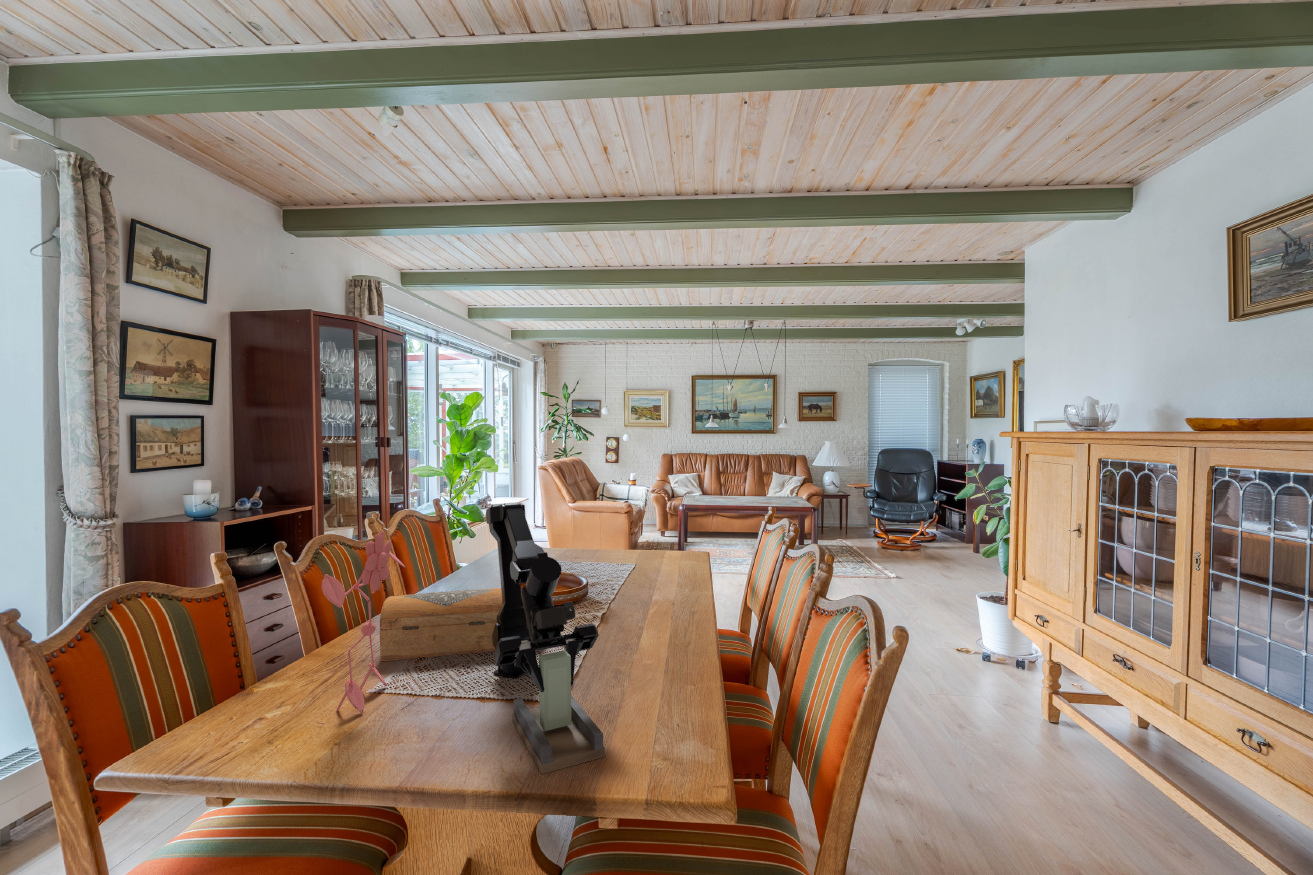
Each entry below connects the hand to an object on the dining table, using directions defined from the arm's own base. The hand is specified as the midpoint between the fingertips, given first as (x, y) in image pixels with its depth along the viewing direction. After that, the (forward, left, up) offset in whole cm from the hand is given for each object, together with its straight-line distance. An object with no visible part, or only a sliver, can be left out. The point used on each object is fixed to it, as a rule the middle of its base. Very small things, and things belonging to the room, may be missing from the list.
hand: (557, 688), depth 106 cm
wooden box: (-52, +31, -10) cm, 62 cm away
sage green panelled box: (-1, +1, -7) cm, 7 cm away
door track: (-1, +1, -10) cm, 10 cm away
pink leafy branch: (-43, +1, -10) cm, 44 cm away
